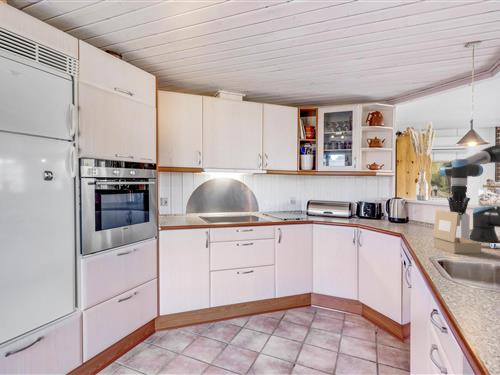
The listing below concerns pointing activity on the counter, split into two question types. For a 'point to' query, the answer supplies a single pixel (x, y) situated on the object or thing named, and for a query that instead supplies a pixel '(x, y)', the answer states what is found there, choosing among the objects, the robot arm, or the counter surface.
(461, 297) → the counter surface
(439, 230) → the lid
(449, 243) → the base
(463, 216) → the milk
